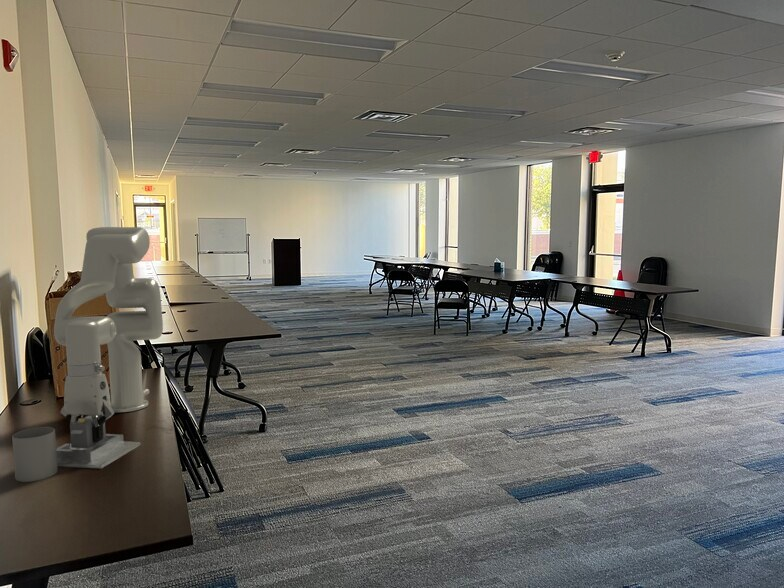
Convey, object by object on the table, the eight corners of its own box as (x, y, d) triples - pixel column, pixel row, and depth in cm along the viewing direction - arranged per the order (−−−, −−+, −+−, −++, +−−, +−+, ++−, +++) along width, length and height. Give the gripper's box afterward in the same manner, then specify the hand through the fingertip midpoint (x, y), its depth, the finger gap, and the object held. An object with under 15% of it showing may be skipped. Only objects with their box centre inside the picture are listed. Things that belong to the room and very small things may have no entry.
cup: (65, 469, 136) (63, 428, 135) (34, 483, 129) (31, 440, 128) (39, 465, 139) (36, 425, 138) (6, 478, 131) (3, 436, 130)
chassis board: (79, 442, 155) (78, 430, 155) (140, 445, 152) (139, 433, 152) (34, 464, 139) (33, 452, 139) (101, 468, 137) (100, 455, 136)
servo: (93, 436, 151) (91, 410, 150) (108, 437, 150) (107, 411, 149) (68, 449, 141) (66, 421, 141) (84, 449, 141) (82, 422, 140)
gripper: (124, 367, 146) (128, 436, 148) (65, 365, 149) (69, 434, 151) (105, 374, 139) (109, 447, 141) (43, 372, 142) (48, 444, 143)
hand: (88, 439), depth 146 cm, fingers closed on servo, 4 cm apart
